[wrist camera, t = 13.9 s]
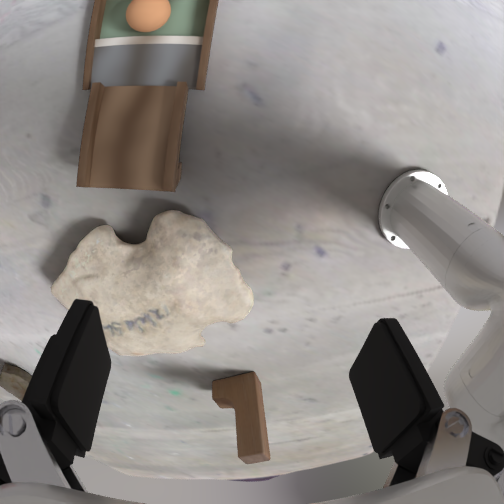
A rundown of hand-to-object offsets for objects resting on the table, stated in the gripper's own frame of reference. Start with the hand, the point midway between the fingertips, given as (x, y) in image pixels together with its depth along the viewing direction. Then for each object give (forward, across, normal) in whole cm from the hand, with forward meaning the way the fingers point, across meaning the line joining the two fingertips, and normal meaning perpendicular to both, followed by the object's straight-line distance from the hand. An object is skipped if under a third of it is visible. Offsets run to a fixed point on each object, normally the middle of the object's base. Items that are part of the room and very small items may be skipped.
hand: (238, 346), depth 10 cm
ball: (+27, +11, -14) cm, 32 cm away
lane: (+30, +11, -8) cm, 33 cm away
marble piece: (+31, +49, +59) cm, 83 cm away
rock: (+31, +10, +21) cm, 39 cm away
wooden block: (+31, -6, +44) cm, 54 cm away
